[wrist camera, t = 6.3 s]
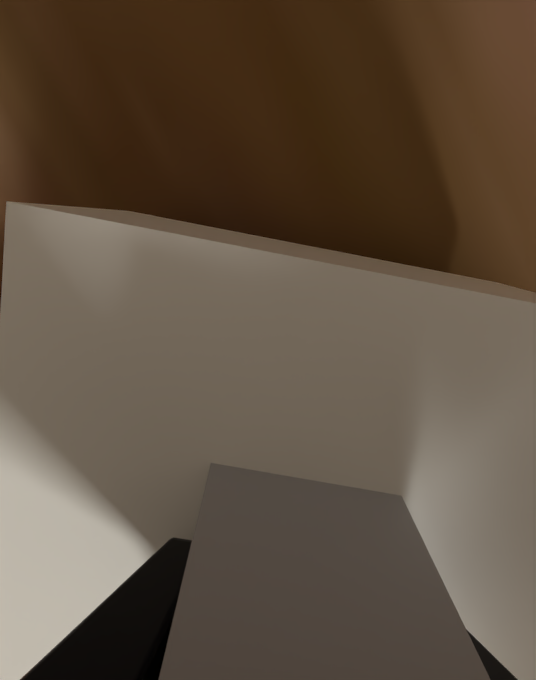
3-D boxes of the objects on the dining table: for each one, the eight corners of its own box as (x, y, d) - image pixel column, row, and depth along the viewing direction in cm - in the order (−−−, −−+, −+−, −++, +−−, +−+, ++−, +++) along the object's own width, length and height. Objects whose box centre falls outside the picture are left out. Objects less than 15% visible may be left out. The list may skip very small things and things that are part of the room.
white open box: (402, 588, 16) (632, 1216, 6) (91, 537, 15) (-237, 1123, 5) (496, 282, 13) (1172, 460, 3) (128, 210, 13) (-348, 172, 3)
